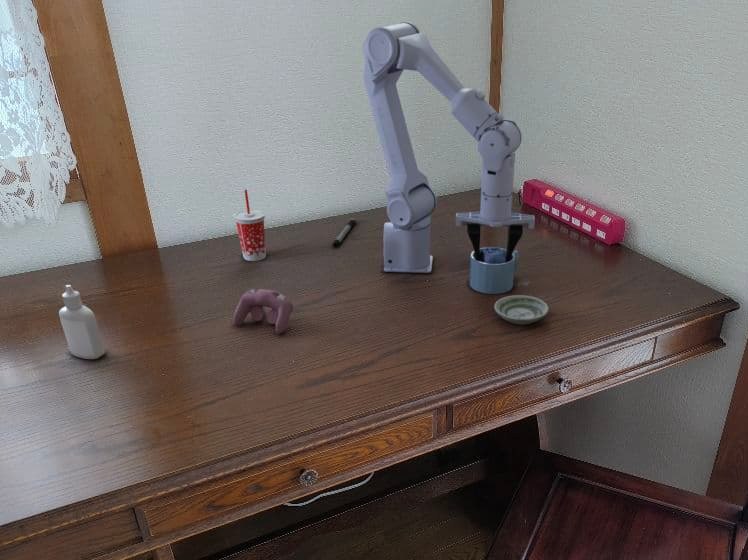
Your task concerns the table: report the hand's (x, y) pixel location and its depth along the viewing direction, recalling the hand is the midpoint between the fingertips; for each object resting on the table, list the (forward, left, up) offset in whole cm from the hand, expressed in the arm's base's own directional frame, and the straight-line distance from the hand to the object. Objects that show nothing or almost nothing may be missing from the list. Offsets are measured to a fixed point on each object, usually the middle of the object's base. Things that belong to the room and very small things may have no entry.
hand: (492, 262), depth 141 cm
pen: (-32, +24, -5) cm, 40 cm away
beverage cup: (-49, +10, -5) cm, 50 cm away
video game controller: (-40, -19, -5) cm, 45 cm away
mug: (+1, +1, -5) cm, 5 cm away
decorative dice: (0, 0, -2) cm, 2 cm away
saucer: (+5, -14, -5) cm, 16 cm away
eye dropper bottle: (-66, -31, -5) cm, 73 cm away
